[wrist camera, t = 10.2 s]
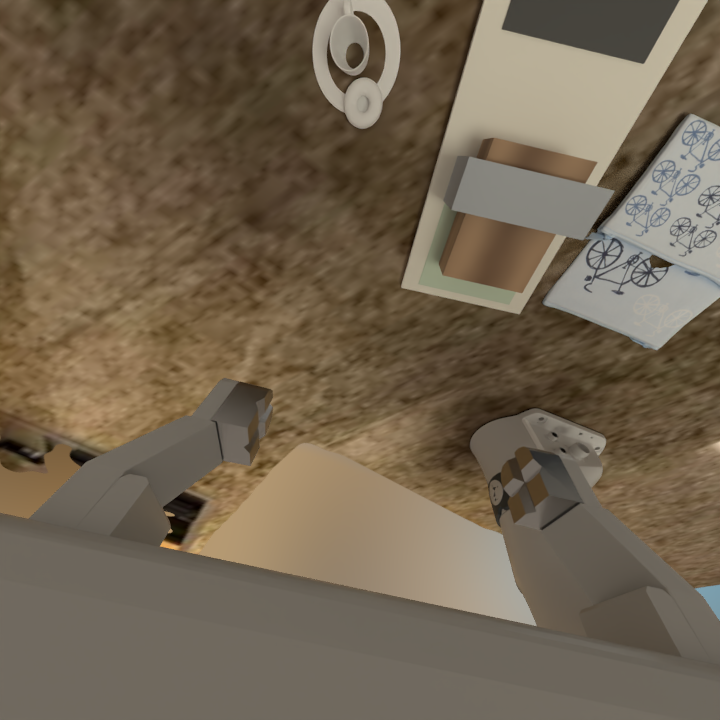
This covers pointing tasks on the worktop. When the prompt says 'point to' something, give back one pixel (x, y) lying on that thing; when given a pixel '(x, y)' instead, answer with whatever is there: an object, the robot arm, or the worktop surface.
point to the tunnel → (524, 197)
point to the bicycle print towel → (654, 245)
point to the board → (546, 104)
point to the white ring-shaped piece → (363, 92)
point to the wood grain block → (506, 224)
